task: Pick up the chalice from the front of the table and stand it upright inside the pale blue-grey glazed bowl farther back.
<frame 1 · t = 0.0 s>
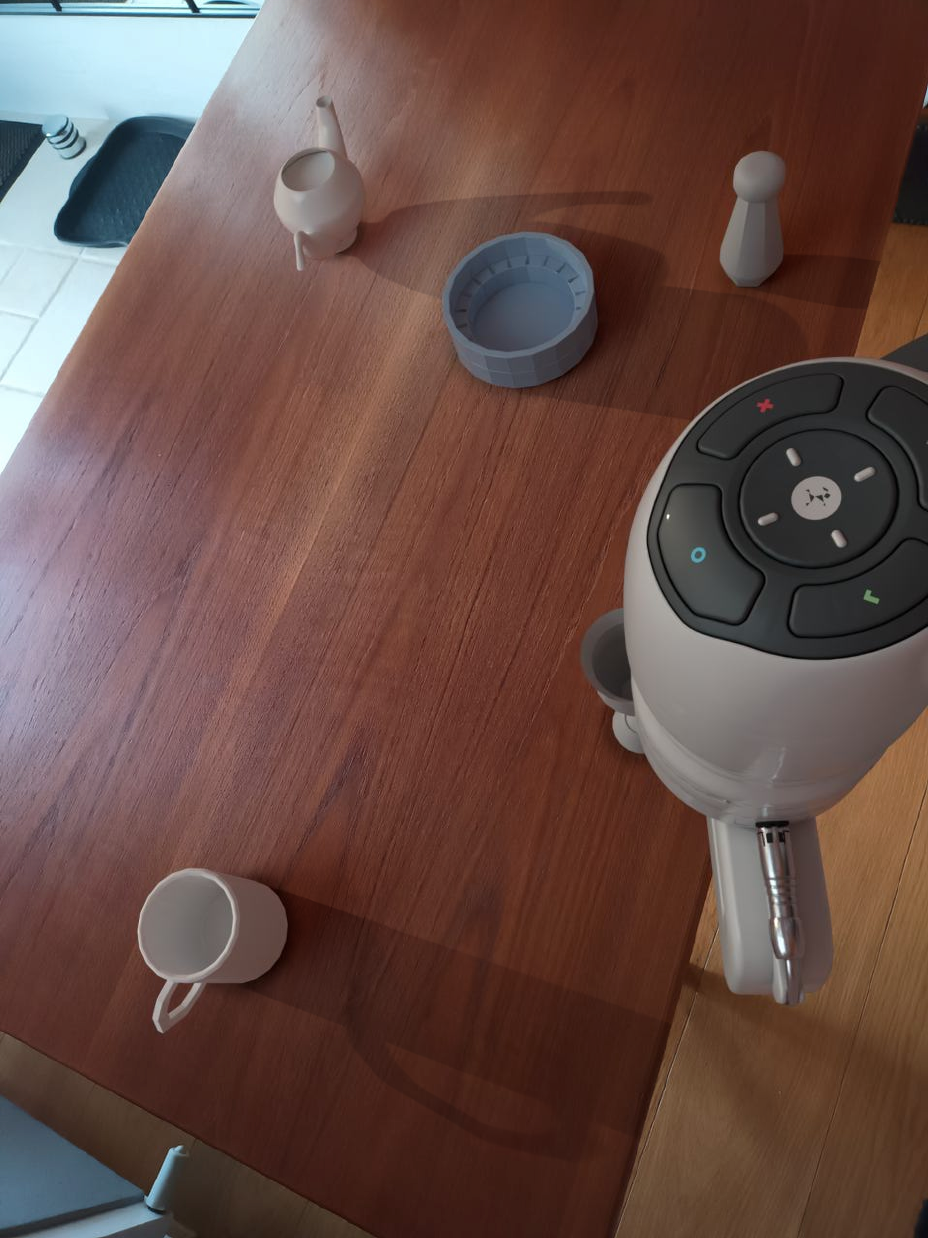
hand: (734, 776, 47), 29 cm above the table, tool pointing down, fingers open, 8 cm apart
teapot: (337, 237, 104), on the table
salt shaker: (749, 271, 92), on the table
bowl: (525, 329, 95), on the table
mug: (233, 954, 79), on the table
chalice: (643, 724, 79), on the table
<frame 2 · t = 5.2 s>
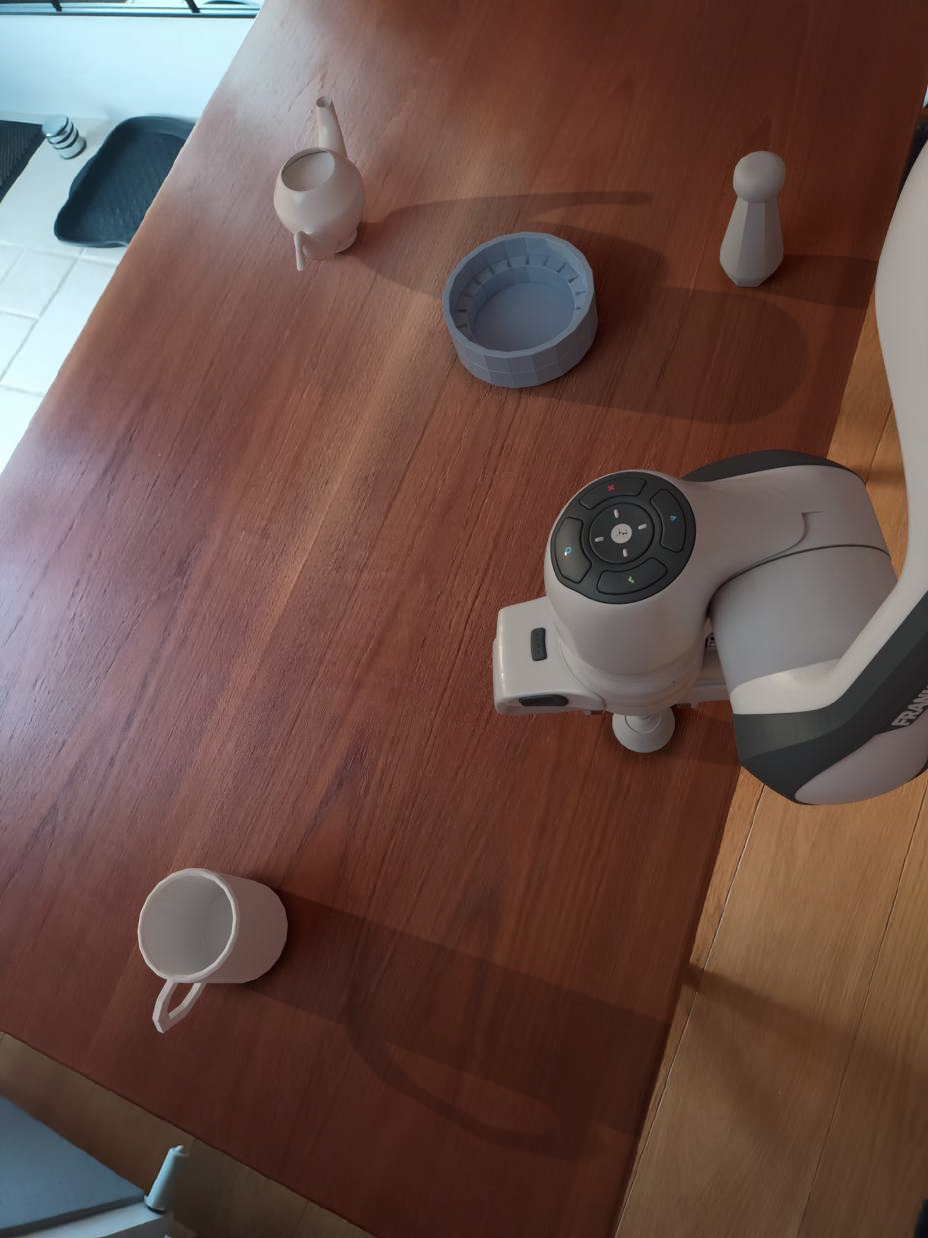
hand: (638, 702, 73), 6 cm above the table, tool pointing down, fingers closed on chalice, 5 cm apart
chalice: (643, 723, 79), on the table, touching arm, gripper
everything else where it was.
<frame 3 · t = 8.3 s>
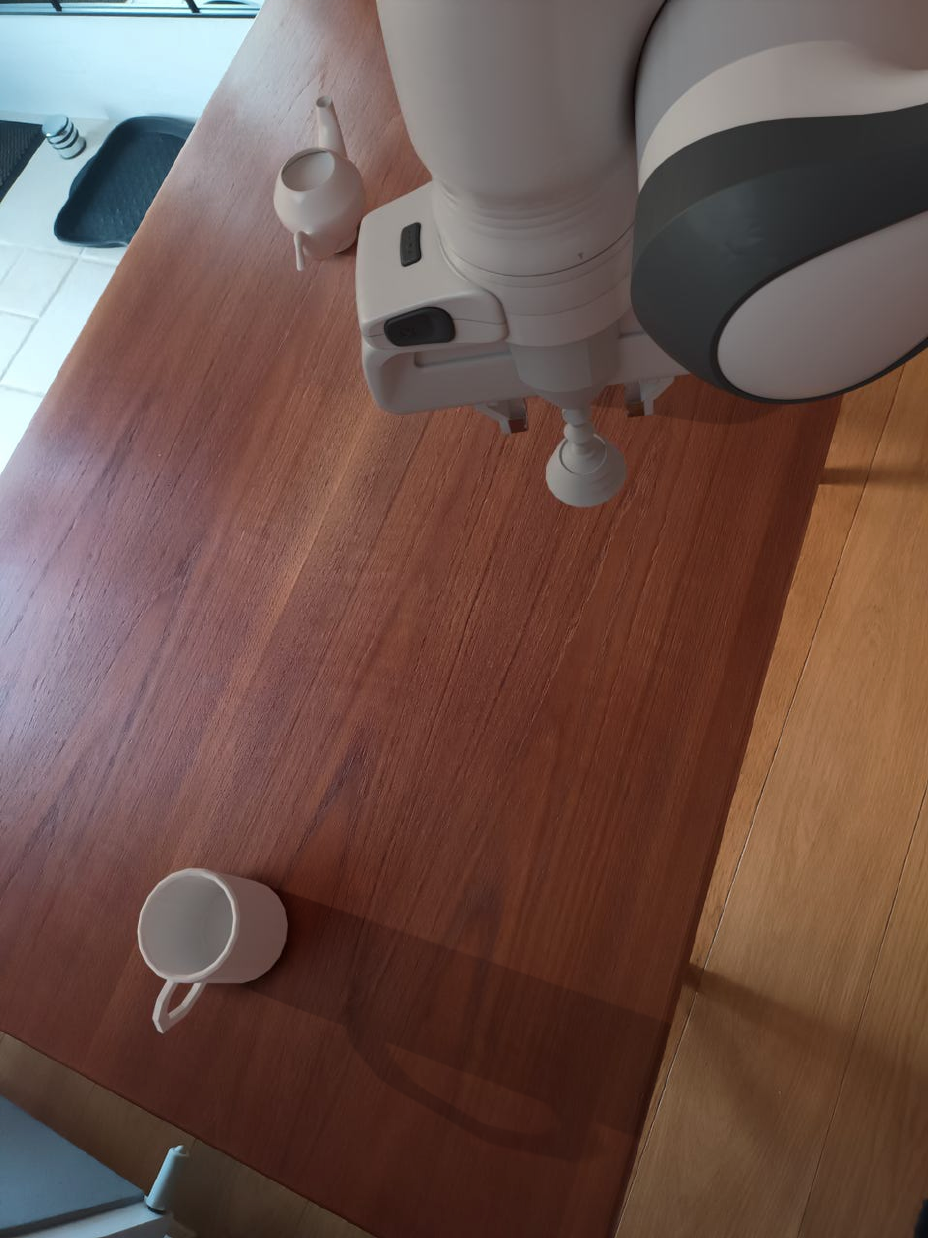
hand: (576, 414, 54), 31 cm above the table, tool pointing down, fingers closed on chalice, 5 cm apart
chalice: (586, 472, 60), point 24 cm above the table, touching arm, gripper
everything else where it was.
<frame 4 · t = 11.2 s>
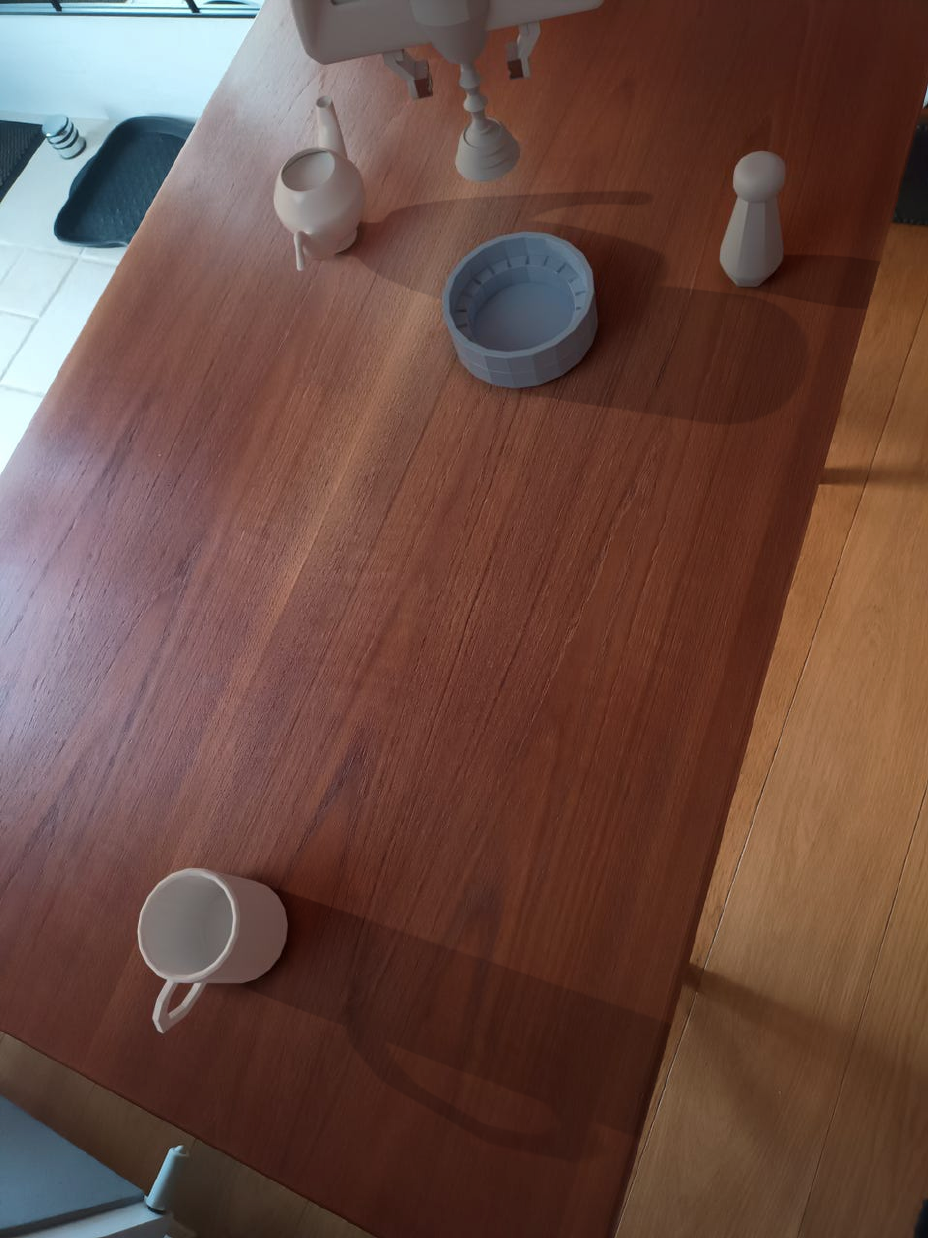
hand: (470, 82, 67), 30 cm above the table, tool pointing down, fingers closed on chalice, 5 cm apart
chalice: (488, 158, 73), point 23 cm above the table, touching arm, gripper
everything else where it was.
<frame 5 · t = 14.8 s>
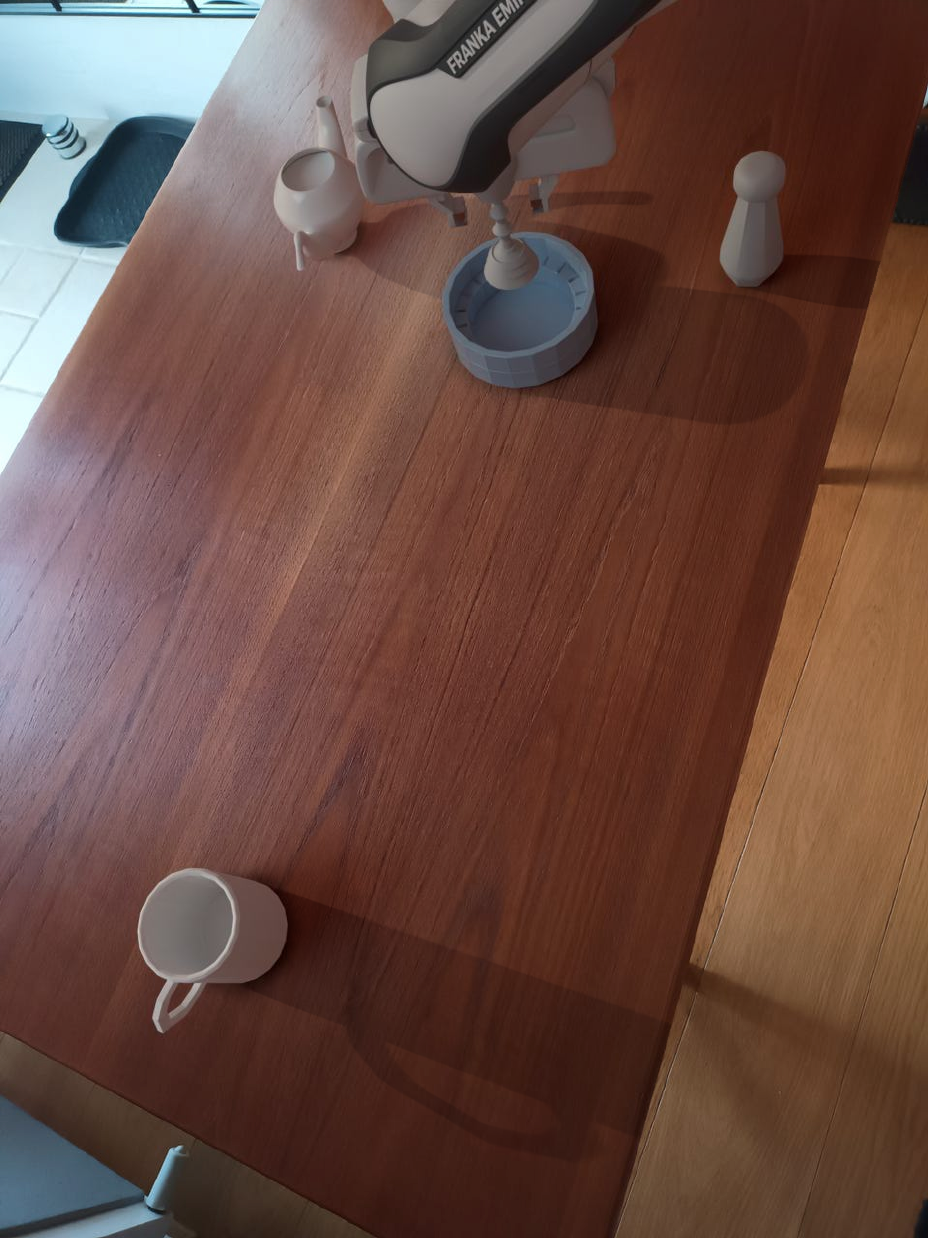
hand: (499, 214, 81), 16 cm above the table, tool pointing down, fingers closed on chalice, 5 cm apart
chalice: (512, 268, 87), point 9 cm above the table, touching arm, gripper
everything else where it was.
when the fingers open (7 cm above the table, at t = 17.6 s): chalice stays where it is, resting on bowl.
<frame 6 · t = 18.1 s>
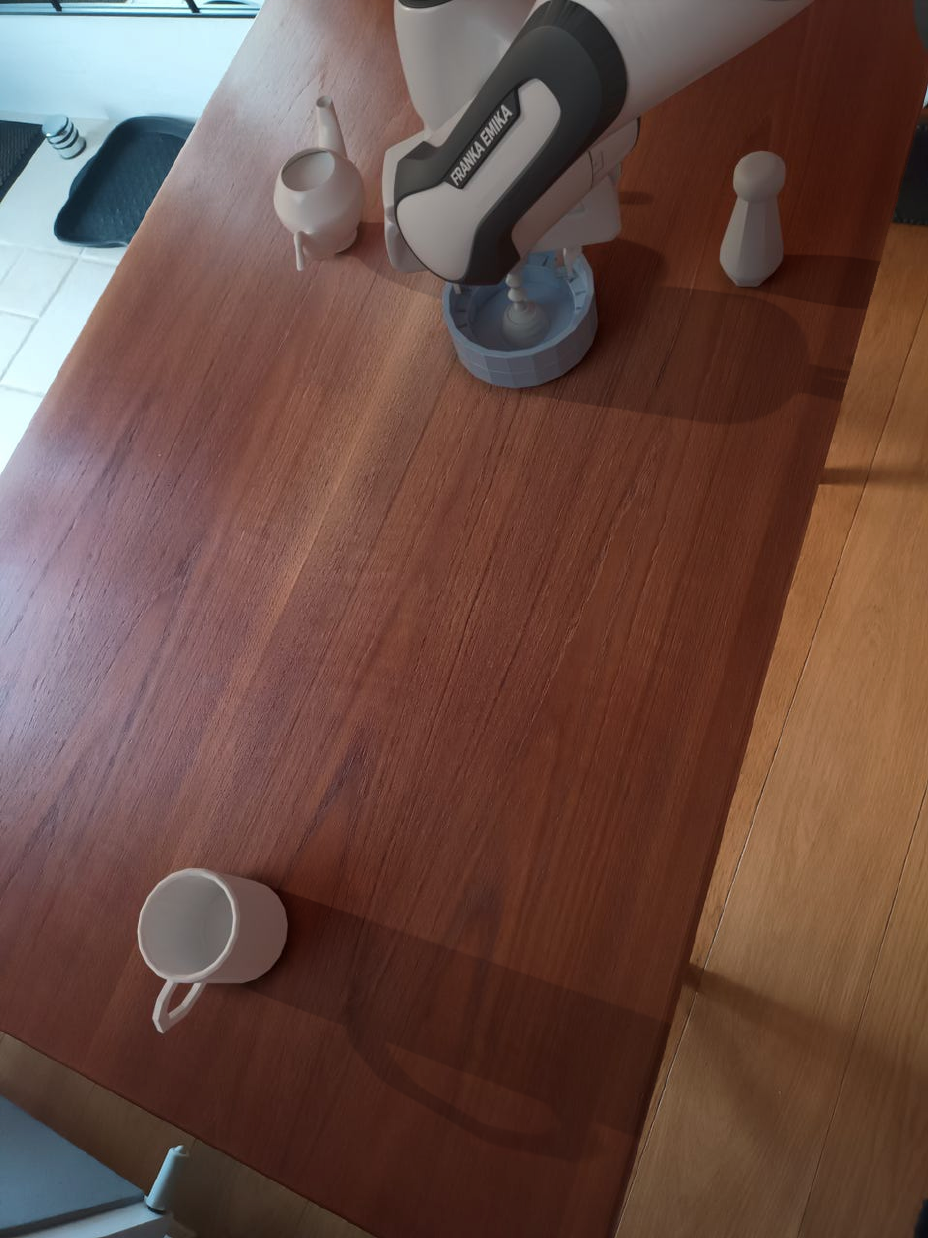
hand: (514, 279, 88), 7 cm above the table, tool pointing down, fingers open, 8 cm apart
chalice: (525, 327, 94), resting on bowl
everything else where it was.
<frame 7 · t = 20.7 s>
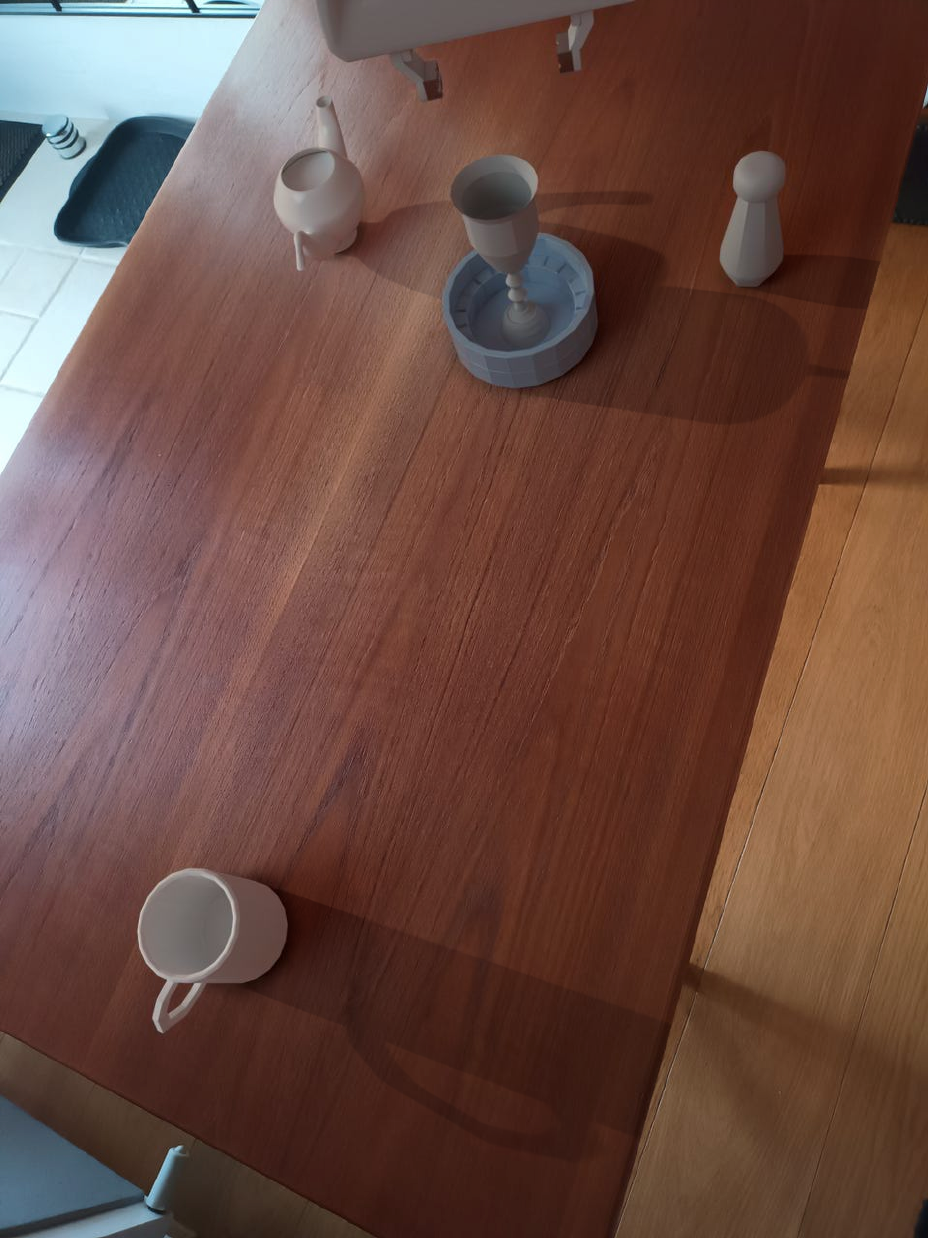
hand: (500, 80, 64), 31 cm above the table, tool pointing down, fingers open, 8 cm apart
nothing on the table moved.
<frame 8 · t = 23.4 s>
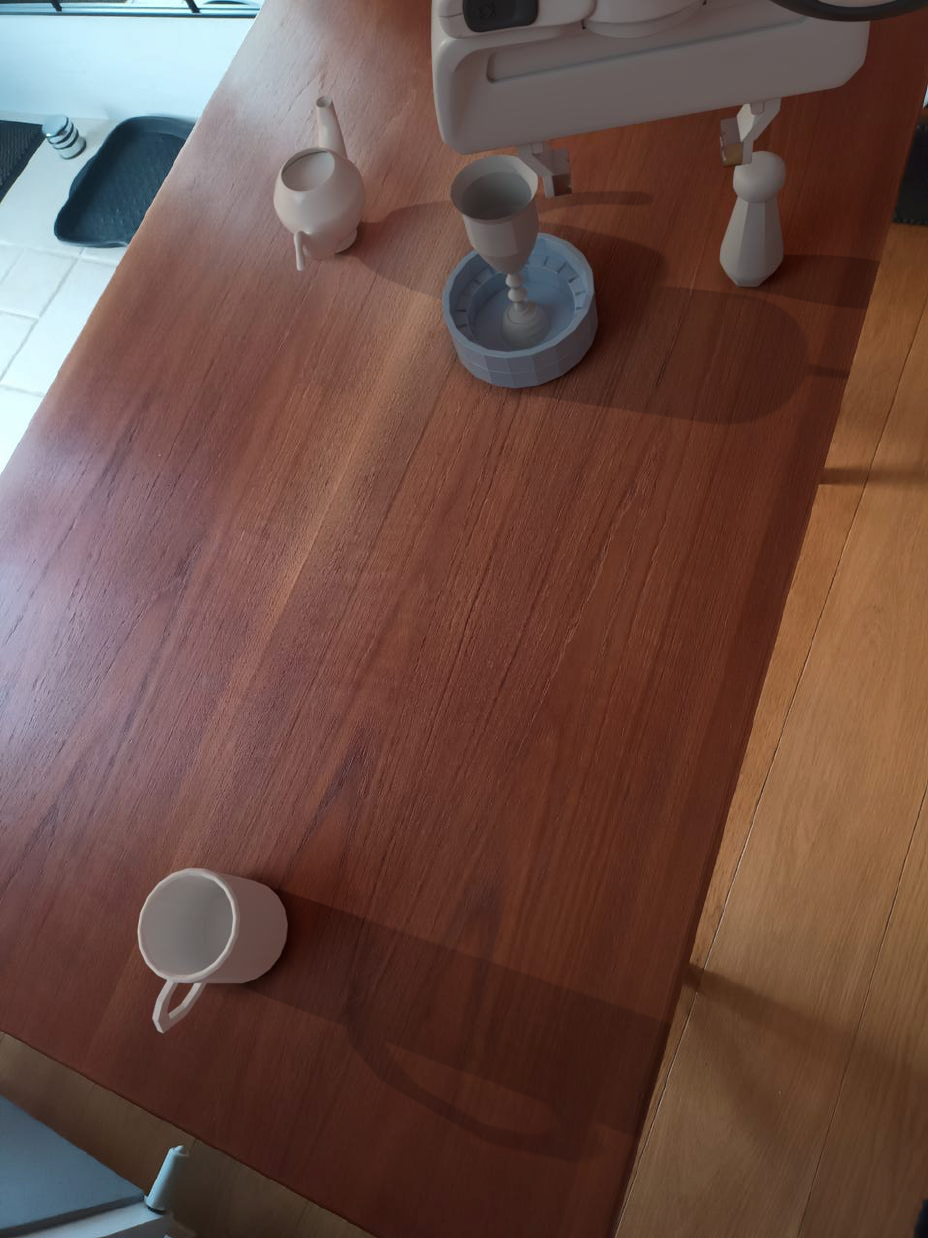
hand: (645, 172, 52), 37 cm above the table, tool pointing down, fingers open, 8 cm apart
nothing on the table moved.
at the end: chalice 0.1 cm off-centre in the bowl, point 0.4 cm above the bowl's base; chalice tilted 0°; the gripper is holding nothing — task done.
